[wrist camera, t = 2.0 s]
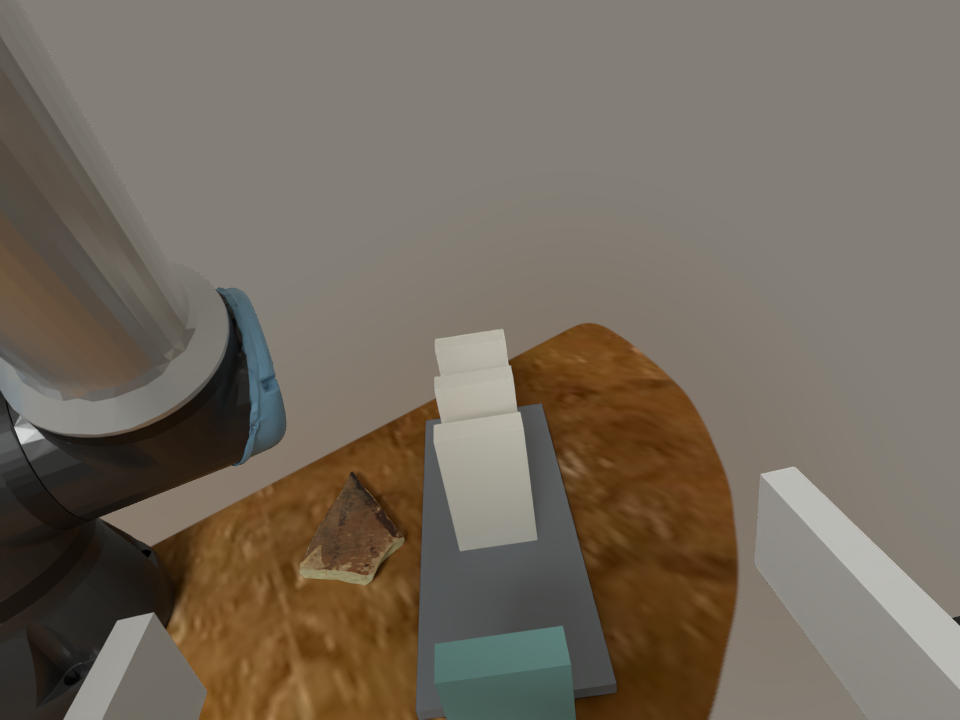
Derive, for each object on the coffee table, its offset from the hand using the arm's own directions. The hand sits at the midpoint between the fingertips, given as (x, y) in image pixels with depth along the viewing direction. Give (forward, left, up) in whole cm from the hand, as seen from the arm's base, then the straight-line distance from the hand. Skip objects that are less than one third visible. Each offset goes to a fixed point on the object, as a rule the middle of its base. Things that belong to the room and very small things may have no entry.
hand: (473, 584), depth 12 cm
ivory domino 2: (0, +27, -24) cm, 36 cm away
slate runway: (0, +23, -25) cm, 34 cm away
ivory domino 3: (0, +21, -24) cm, 32 cm away
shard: (-13, +24, -25) cm, 38 cm away
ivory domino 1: (0, +33, -24) cm, 41 cm away
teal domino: (0, +6, -25) cm, 26 cm away
